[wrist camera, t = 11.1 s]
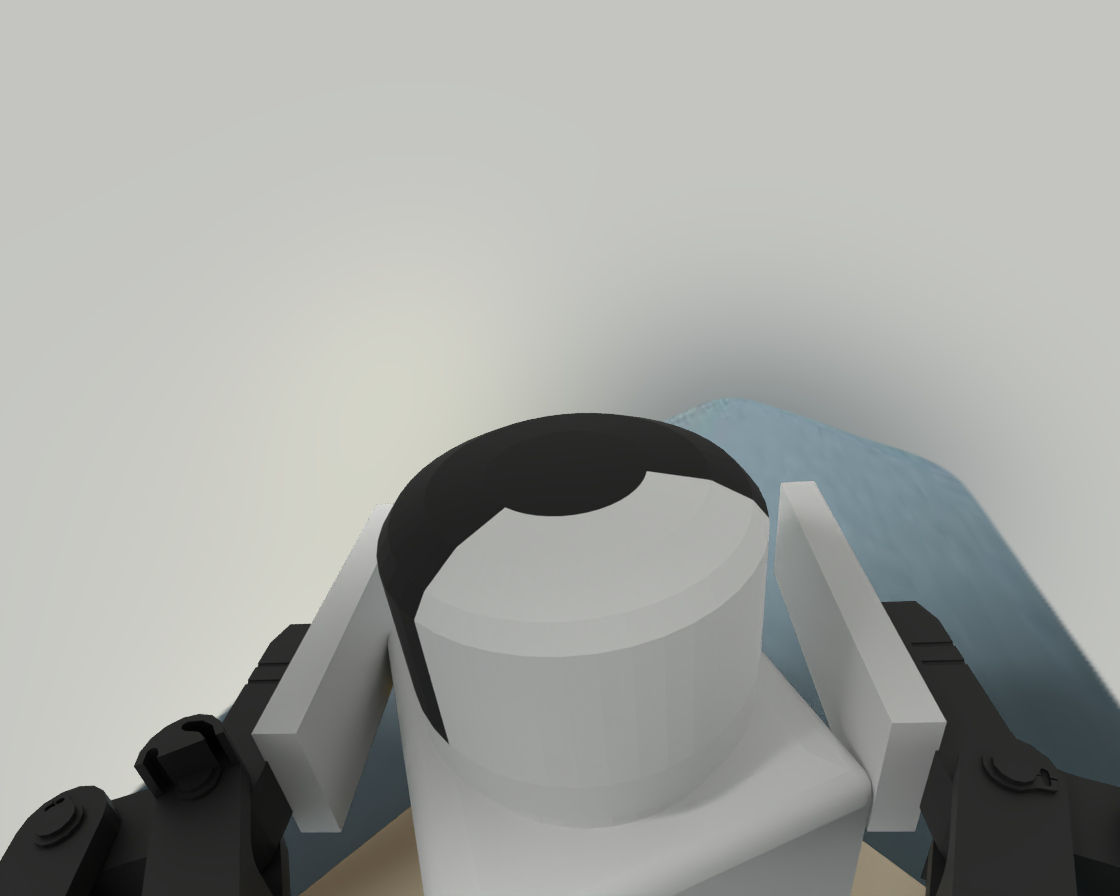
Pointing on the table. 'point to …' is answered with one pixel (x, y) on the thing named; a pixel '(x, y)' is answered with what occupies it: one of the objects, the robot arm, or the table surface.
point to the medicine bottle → (603, 675)
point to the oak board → (397, 891)
